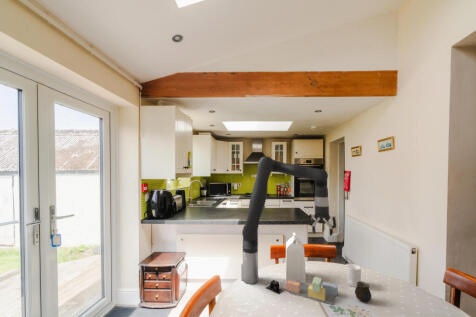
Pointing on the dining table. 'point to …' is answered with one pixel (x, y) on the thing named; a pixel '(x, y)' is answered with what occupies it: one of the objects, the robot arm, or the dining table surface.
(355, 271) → the white cup
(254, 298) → the dining table surface
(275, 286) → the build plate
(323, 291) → the mustard block
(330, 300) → the mat
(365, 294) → the mate gourd
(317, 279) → the green block
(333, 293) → the blue block
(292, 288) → the terracotta block
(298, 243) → the milk
